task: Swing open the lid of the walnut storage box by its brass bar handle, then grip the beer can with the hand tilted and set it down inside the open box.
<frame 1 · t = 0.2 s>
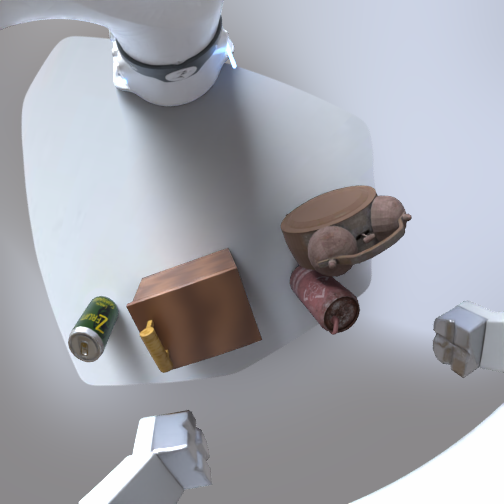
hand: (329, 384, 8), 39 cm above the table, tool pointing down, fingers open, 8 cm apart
chest: (196, 295, 48), on the table
beer can: (104, 308, 45), on the table
can: (305, 278, 51), on the table
lid: (196, 331, 37), point 11 cm above the table, hinge at 0.0°
alarm clock: (313, 216, 48), on the table
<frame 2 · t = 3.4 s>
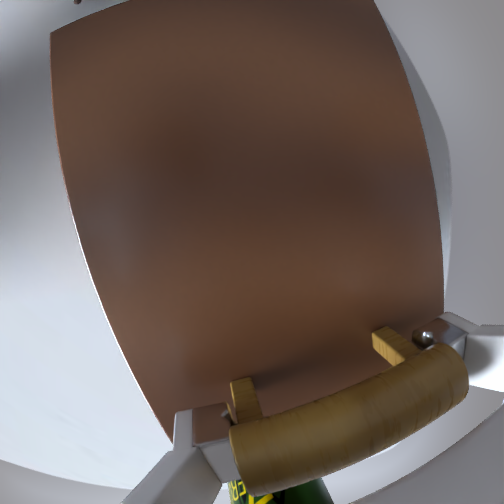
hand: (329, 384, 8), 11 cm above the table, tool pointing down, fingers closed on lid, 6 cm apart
beer can: (253, 412, 21), on the table
lid: (298, 194, 6), point 11 cm above the table, hinge at -0.2°, touching gripper
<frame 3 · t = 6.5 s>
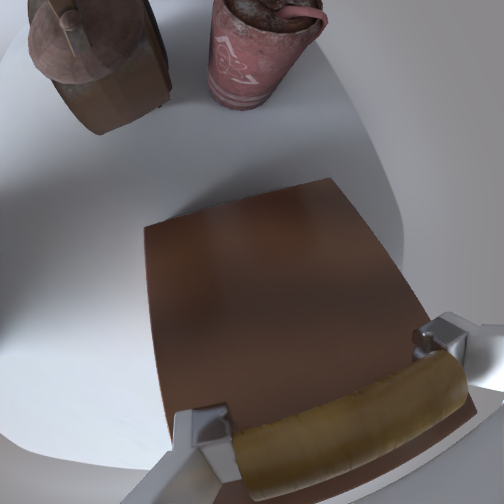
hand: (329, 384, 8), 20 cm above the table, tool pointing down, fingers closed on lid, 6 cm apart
can: (241, 84, 25), on the table
lid: (287, 291, 11), point 17 cm above the table, hinge at 52.1°, touching gripper
alarm clock: (129, 75, 23), on the table
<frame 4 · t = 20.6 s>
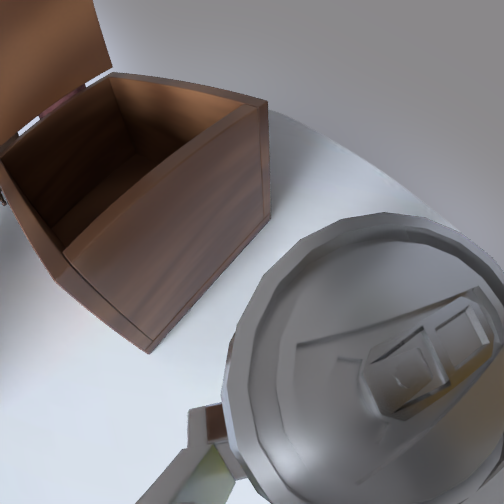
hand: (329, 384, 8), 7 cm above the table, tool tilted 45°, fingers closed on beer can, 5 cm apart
chest: (139, 227, 20), on the table
beer can: (309, 412, 13), on the table, touching gripper
lid: (9, 26, 10), point 17 cm above the table, hinge at 92.2°
alarm clock: (11, 185, 26), on the table
when the fingers open (8 cm above the table, at t = 30.3 s): beer can stays where it is, resting on chest.
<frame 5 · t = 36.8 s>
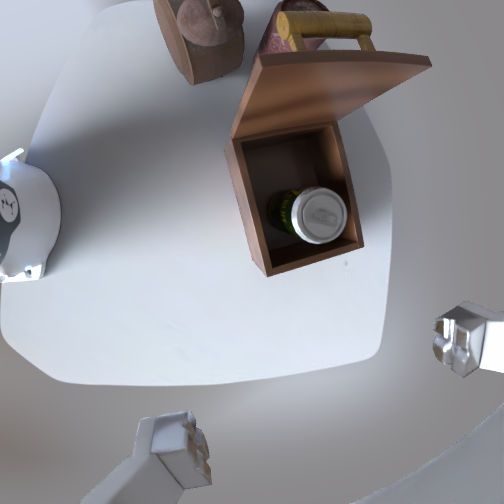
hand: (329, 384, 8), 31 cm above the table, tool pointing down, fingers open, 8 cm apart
chest: (281, 194, 38), on the table
beer can: (286, 210, 38), point 1 cm above the table, touching chest
can: (275, 66, 35), on the table
lid: (306, 75, 20), point 17 cm above the table, hinge at 92.2°
alarm clock: (197, 54, 33), on the table
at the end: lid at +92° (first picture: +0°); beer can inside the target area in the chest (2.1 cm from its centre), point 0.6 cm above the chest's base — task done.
